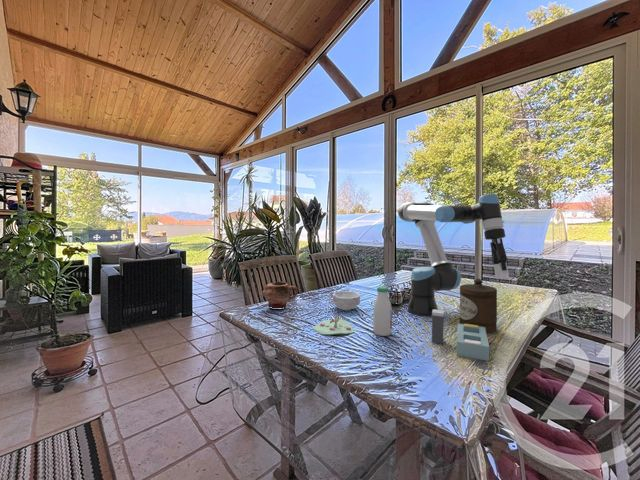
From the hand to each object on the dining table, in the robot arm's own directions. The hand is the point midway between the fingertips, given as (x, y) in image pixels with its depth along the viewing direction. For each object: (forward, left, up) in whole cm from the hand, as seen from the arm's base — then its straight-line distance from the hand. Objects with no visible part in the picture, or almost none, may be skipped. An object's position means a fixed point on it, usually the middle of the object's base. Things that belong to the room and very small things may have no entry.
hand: (502, 278), depth 120 cm
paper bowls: (-73, +6, -24) cm, 77 cm away
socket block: (-12, -20, -23) cm, 33 cm away
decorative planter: (-107, -9, -24) cm, 109 cm away
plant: (-68, -21, -24) cm, 75 cm away
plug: (-24, -20, -23) cm, 39 cm away
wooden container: (-9, +4, -24) cm, 26 cm away
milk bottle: (-46, -21, -24) cm, 55 cm away
